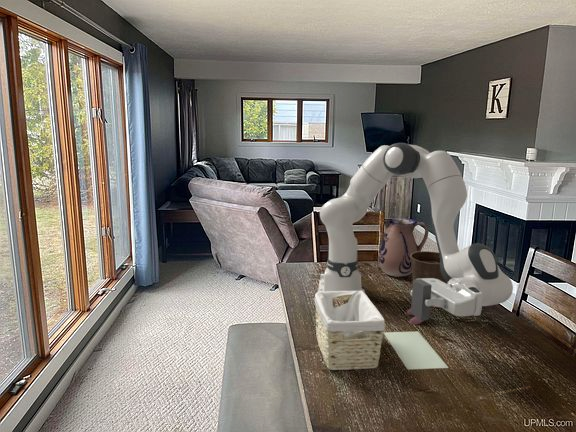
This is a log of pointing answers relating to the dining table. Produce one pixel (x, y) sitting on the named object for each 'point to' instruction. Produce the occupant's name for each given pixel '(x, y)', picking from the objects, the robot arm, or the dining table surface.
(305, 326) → the dining table surface
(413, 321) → the video game controller
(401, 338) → the mat
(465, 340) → the dining table surface
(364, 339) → the storage basket
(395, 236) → the ceramic pitcher
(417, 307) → the domino
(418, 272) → the plant pot
